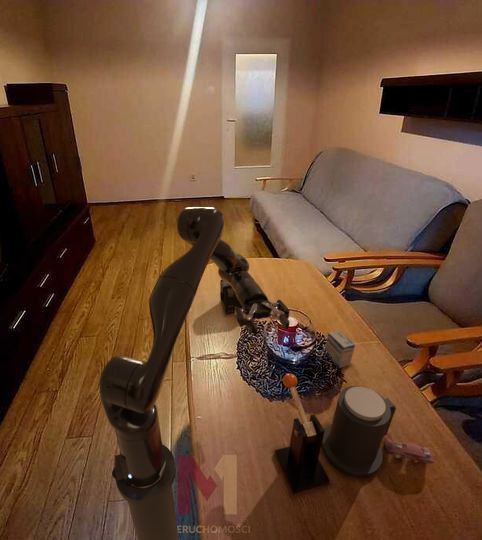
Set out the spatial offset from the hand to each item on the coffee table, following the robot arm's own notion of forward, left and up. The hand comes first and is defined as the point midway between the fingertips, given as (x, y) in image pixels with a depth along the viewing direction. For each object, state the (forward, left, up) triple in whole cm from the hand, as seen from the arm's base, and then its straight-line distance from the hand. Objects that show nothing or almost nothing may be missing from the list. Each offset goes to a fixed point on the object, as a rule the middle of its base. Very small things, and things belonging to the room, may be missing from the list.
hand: (271, 329), depth 89 cm
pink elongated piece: (+26, -26, -25) cm, 44 cm away
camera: (+6, +45, -25) cm, 52 cm away
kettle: (+14, -21, -25) cm, 35 cm away
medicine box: (+28, +8, -25) cm, 38 cm away
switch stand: (0, -22, -25) cm, 33 cm away
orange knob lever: (0, -16, -10) cm, 19 cm away
